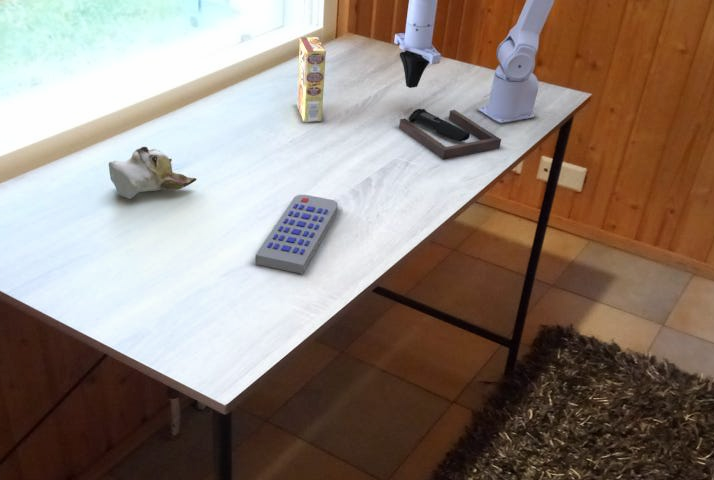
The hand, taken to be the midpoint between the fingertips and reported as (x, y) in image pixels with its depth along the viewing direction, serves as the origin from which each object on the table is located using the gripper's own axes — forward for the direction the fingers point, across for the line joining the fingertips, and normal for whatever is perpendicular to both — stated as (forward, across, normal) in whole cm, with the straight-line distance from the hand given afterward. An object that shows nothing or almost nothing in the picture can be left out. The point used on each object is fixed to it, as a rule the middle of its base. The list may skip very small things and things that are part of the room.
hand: (411, 86), depth 177 cm
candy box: (+6, -6, -22) cm, 23 cm away
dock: (+6, +15, 0) cm, 16 cm away
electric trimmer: (+6, +12, 0) cm, 13 cm away
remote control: (+6, +39, -46) cm, 61 cm away
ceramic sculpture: (+5, +14, -65) cm, 66 cm away
